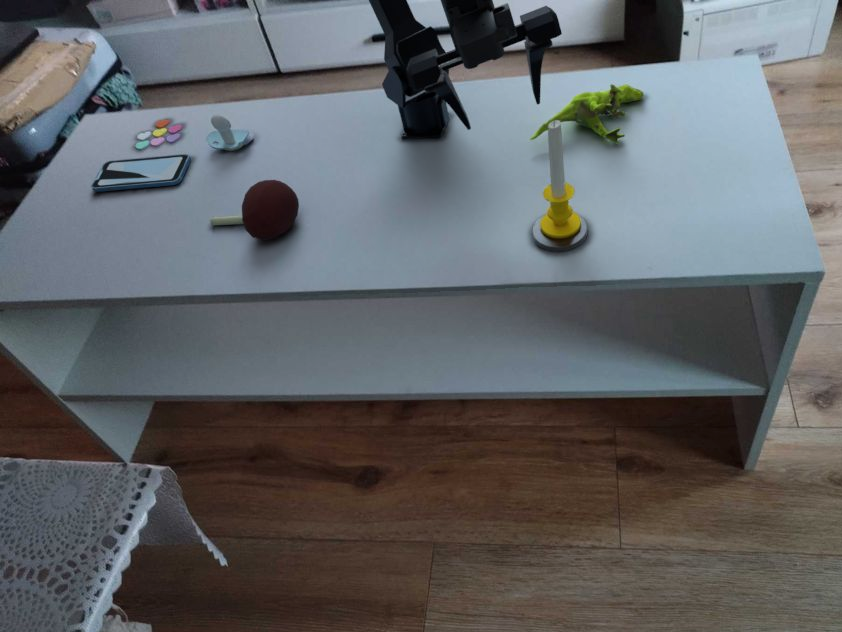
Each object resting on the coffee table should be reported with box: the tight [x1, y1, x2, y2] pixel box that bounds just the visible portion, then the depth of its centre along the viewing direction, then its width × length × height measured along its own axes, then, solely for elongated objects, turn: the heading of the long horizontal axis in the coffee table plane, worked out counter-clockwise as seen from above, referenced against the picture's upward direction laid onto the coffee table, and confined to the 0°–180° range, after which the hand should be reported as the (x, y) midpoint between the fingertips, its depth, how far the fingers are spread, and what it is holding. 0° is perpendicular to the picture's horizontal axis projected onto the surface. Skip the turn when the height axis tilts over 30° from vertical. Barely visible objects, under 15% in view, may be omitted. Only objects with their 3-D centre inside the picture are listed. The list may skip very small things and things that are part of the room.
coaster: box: [531, 213, 588, 253], centre depth 91 cm, size 7×7×1 cm
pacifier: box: [205, 114, 255, 152], centre depth 114 cm, size 7×6×6 cm
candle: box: [540, 120, 581, 239], centre depth 85 cm, size 5×5×16 cm
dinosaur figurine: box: [529, 83, 644, 145], centre depth 101 cm, size 20×10×6 cm, turn 133°
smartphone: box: [90, 153, 192, 193], centre depth 114 cm, size 7×1×15 cm
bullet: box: [209, 215, 244, 226], centre depth 102 cm, size 1×1×8 cm
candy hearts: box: [134, 119, 183, 151], centre depth 122 cm, size 8×8×1 cm
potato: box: [241, 179, 300, 241], centre depth 98 cm, size 8×9×6 cm
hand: (503, 116), depth 89 cm, fingers open, 9 cm apart
